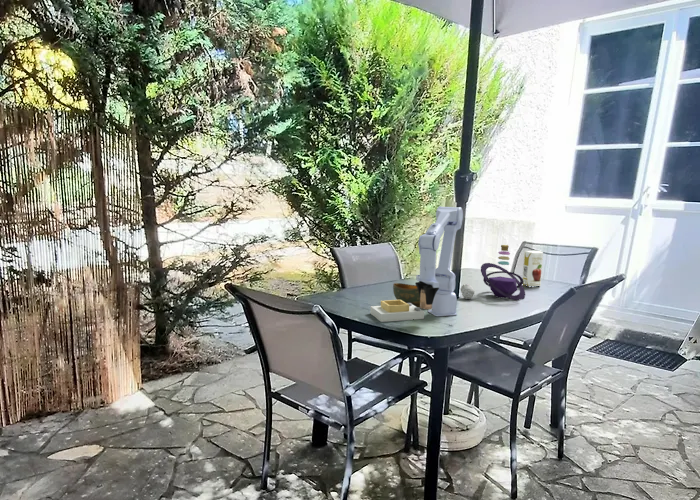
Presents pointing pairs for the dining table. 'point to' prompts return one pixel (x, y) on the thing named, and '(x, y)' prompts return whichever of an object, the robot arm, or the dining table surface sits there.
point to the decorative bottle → (503, 279)
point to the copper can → (424, 301)
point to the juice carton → (532, 268)
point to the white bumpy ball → (467, 291)
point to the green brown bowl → (407, 293)
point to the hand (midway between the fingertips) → (426, 302)
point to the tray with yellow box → (396, 311)
